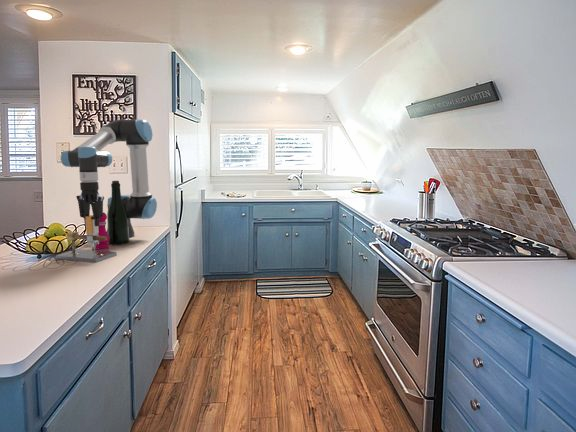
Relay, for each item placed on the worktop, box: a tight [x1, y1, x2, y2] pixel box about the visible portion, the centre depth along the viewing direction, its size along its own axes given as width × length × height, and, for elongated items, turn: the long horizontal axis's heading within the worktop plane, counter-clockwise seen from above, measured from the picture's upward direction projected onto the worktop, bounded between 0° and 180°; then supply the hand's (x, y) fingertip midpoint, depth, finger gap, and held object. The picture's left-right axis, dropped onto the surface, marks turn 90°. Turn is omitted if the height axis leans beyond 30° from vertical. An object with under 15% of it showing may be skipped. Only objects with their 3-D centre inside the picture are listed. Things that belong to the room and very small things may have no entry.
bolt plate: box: [55, 248, 117, 263], centre depth 213 cm, size 14×22×2 cm, turn 73°
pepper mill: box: [95, 211, 110, 251], centre depth 229 cm, size 7×7×20 cm
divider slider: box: [85, 214, 99, 253], centre depth 210 cm, size 4×3×17 cm
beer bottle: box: [106, 180, 130, 246], centre depth 240 cm, size 10×10×33 cm
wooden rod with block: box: [66, 231, 107, 253], centre depth 212 cm, size 4×20×9 cm, turn 73°
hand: (92, 232), depth 210 cm, fingers closed on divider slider, 3 cm apart
